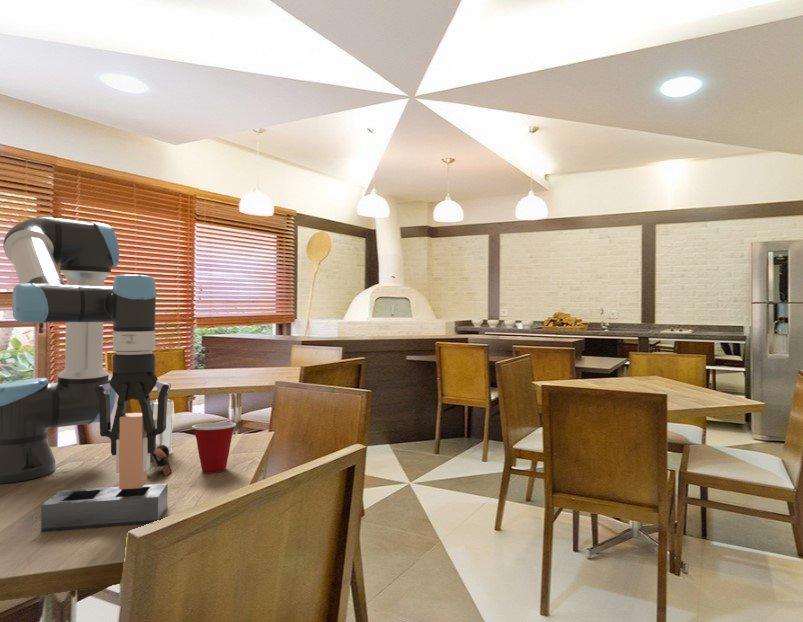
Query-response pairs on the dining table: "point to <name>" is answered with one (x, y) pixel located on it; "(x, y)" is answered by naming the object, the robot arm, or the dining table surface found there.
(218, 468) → the plastic cup
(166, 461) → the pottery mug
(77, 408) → the robot arm
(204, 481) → the dining table surface
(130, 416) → the terracotta peg
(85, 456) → the dining table surface
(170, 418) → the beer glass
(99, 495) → the grey peg hole block
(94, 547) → the dining table surface
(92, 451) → the dining table surface
